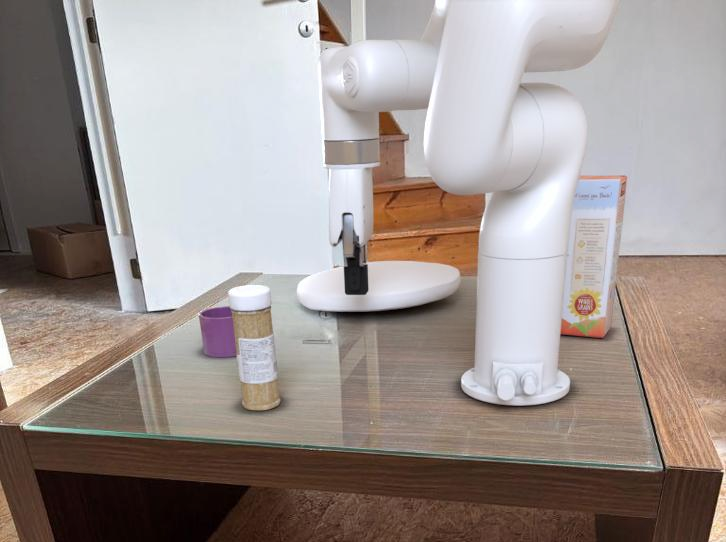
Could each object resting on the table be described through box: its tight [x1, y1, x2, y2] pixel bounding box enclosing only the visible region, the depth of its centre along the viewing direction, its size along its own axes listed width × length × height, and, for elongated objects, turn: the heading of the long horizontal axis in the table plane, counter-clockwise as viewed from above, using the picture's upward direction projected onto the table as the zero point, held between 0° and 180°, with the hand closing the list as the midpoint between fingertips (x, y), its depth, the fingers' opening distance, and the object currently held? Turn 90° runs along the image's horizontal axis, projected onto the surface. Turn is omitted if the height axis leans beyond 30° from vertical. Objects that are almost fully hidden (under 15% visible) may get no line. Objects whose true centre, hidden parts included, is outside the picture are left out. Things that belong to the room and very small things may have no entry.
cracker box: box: [560, 174, 628, 339], centre depth 102 cm, size 14×6×21 cm, turn 63°
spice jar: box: [227, 284, 282, 412], centre depth 81 cm, size 5×5×14 cm
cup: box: [198, 305, 237, 358], centre depth 103 cm, size 7×7×6 cm
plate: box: [296, 260, 462, 313], centre depth 125 cm, size 28×6×27 cm
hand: (356, 293), depth 105 cm, fingers closed
